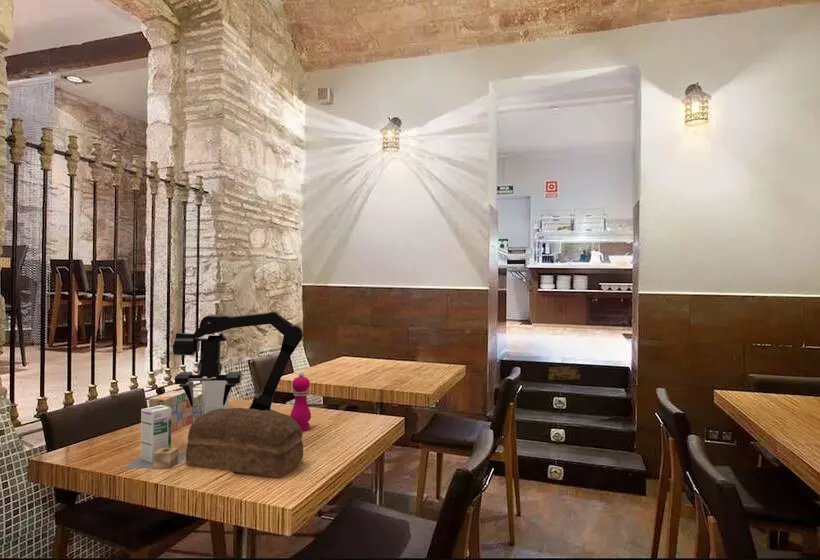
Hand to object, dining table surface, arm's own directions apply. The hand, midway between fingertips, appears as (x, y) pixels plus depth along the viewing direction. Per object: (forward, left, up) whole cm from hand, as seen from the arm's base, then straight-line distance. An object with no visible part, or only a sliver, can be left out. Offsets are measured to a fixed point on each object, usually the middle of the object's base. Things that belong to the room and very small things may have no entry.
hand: (208, 405), depth 147 cm
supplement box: (+14, -39, -13) cm, 44 cm away
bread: (-16, +13, -13) cm, 25 cm away
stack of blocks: (+21, -23, -13) cm, 33 cm away
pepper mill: (-24, -20, -13) cm, 34 cm away
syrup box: (+10, +12, -12) cm, 20 cm away
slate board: (+8, +13, -13) cm, 20 cm away
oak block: (+4, +17, -12) cm, 21 cm away
